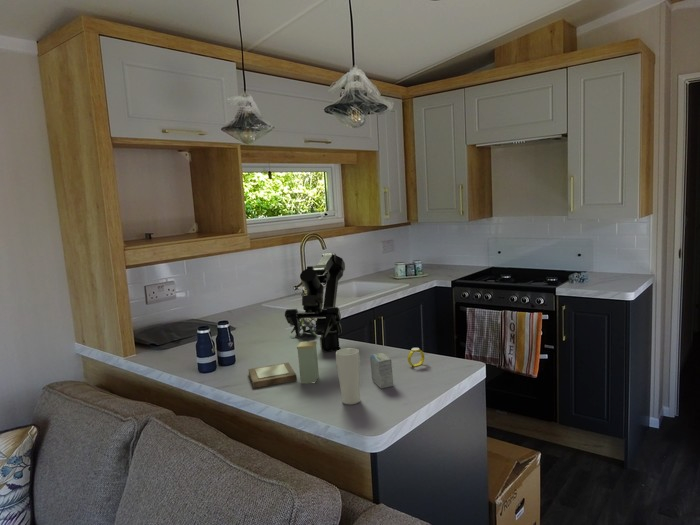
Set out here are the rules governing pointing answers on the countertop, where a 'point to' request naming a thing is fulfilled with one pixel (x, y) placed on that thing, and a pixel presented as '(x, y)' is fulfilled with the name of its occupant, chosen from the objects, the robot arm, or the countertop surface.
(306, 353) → the tea tin
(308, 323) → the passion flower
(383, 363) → the medicine box
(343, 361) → the drinking glass
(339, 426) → the countertop surface
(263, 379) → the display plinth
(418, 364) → the watch
